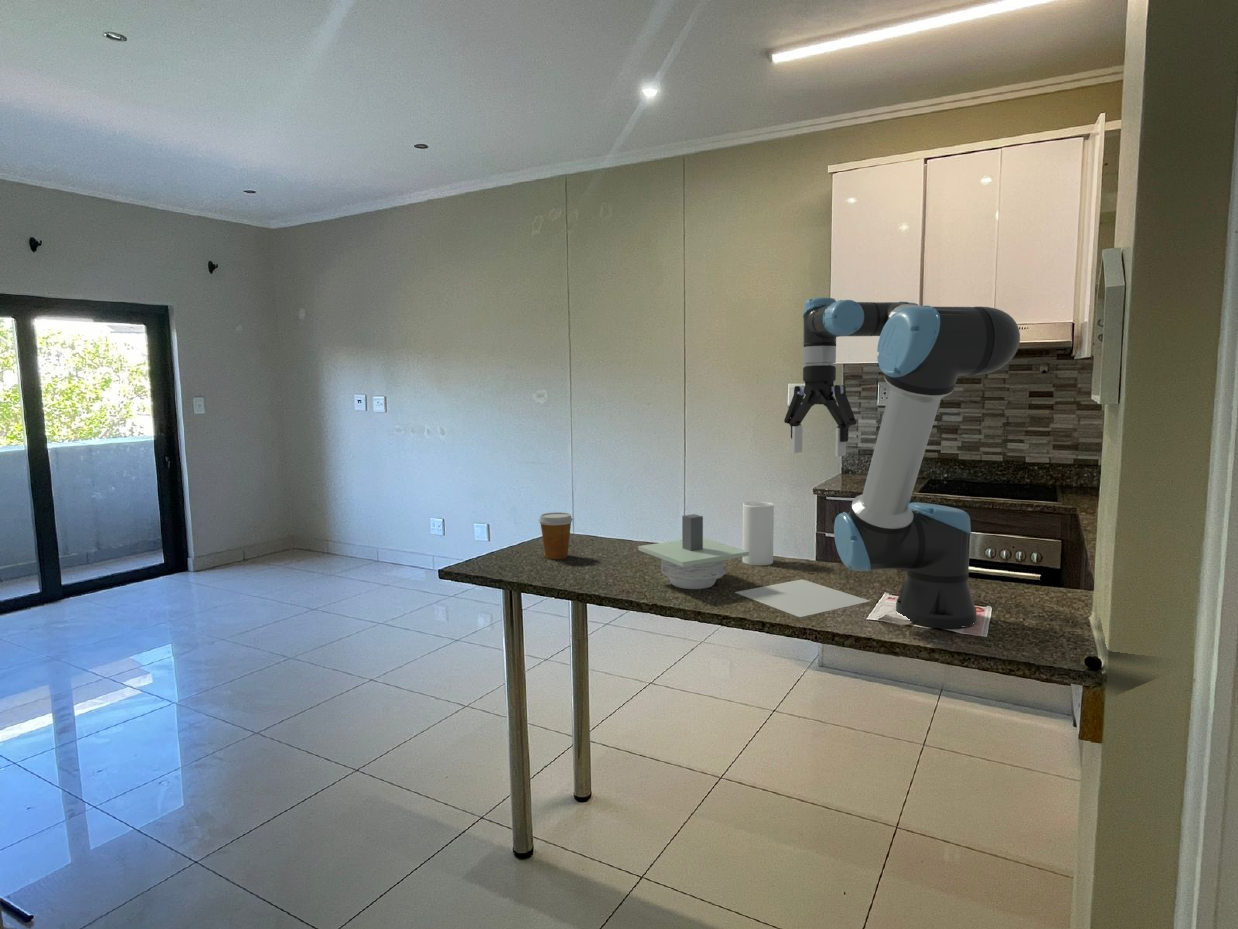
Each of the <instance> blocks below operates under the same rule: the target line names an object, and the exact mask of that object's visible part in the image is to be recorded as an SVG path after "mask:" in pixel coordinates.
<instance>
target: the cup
mask: <svg viewBox="0 0 1238 929" xmlns="http://www.w3.org/2000/svg"><path fill="white" fill-rule="evenodd" d="M774 506H775V505H774V503H773V502H768V501H746V502H743V503H742V545H741V546H742V548H741V549H742V550H745V551H749V556H745V557H741V558H742V559H741V560H742V561H741V562H742V563H743V564H746V565H750V566H769V565H772V564H773V563H774V530H775V529H774V526H775V525H774V524H775V523H774V522H775V521H774V520H775V519H774V518H775V517H774V516H775V512H774V510H775V507H774Z"/></svg>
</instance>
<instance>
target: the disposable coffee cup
mask: <svg viewBox="0 0 1238 929" xmlns="http://www.w3.org/2000/svg"><path fill="white" fill-rule="evenodd" d="M539 516H540V517H539V519H538V522H539V524H540V529H541V535H542V536H541V537H542V542H543V550H544V556H545V558H546V559H549V560H561V559H565V558H567V557H569V556H568V554H569V545H570V536H571V535H570V534H571V525H572V521H573V517H572V514H571V513H568V512H545V513H542V514H540V515H539Z"/></svg>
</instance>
